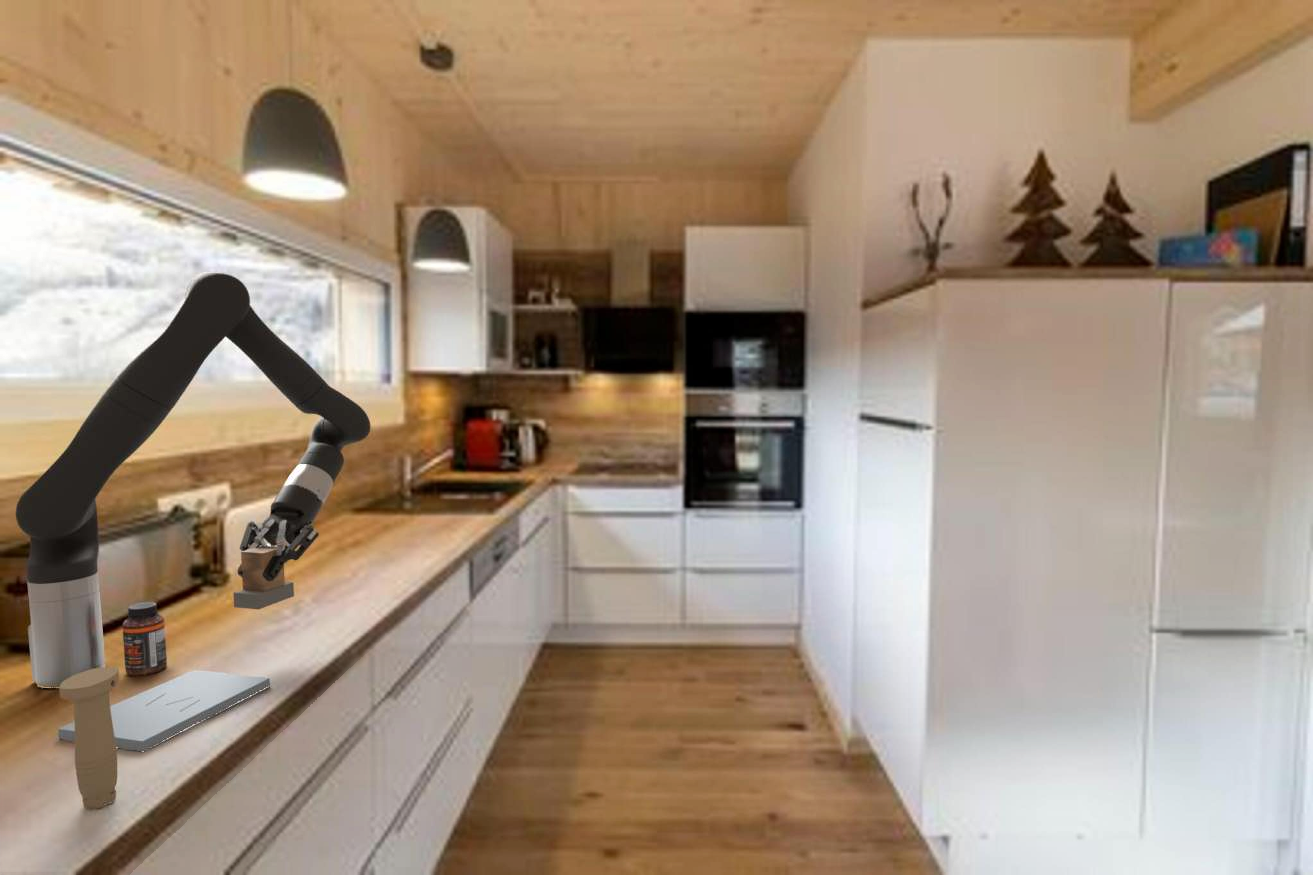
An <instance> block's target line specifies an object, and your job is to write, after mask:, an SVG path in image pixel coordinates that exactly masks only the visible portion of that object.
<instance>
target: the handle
mask: <svg viewBox="0 0 1313 875" xmlns="http://www.w3.org/2000/svg"><path fill="white" fill-rule="evenodd" d="M119 680H120V672H119V667H115V666H109V667H108V666H107V667H106V666H105V667H103V668H95V669H90V670H87V671H84V672H81V673H78V674H76V675H73V676H71V677H69V678H68V679H66V680H64V681H63V682H62V683H61V684H60V687H59V688H58V690H59V697H60V698H61V699H63V700H65V701H71V702H72V703H73V710H74V713H73V715H74V722H75V742H74V764H75V774H76V780H77V786H78V789H79V793H80V795H81V797H82V804H83V807H84V810H87V811H90V810H95V809H94V808H96V810H98V809H97V808H100V809H102V808H103V807H105V806H106V805H105V804H107V805H109V804H108V803H110V802H113V801H116V797H117V790H116V786H117V784H118V783H117V782H118V753H117V752H118V751H117V748H116V742H115V736H114V730H113V723H112V716H111V709H110V706H111V704H110V693H111V692H112V691H113V690H115V688H116V687H117V686H118V683H119ZM113 803H114V802H113ZM110 804H111V803H110ZM104 805H105V806H104ZM102 806H103V807H102ZM101 807H102V808H101Z"/></svg>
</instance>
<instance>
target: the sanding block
mask: <svg viewBox="0 0 1313 875" xmlns="http://www.w3.org/2000/svg"><path fill="white" fill-rule="evenodd" d="M276 548H277V546H274V547H269V546H259V547H257V548H253V549H249V550H245V551H240V556H241V557H240V558H241V563H242V577H241V578H242V579H241V580H242V589H240V590H236V591H234V592H233V607H234V608H239V609H240V608H241V609H249V610H262V609H264V608H266V607H270V606H272V605H274V604H277V603H280V602H282V601H285V600H288V599H290V598H293V597H295V589H294V587H295V586H294V585H295V584H294V582H293V581H285V578H286V577H285V564H284V565H283V567H282V569H281V570H280V572H279V574H278V576H277V577H276V578H274V580H273V581H268V580H266V579H265V578H264V577H263V576H262V574H263V572H264V570H265V569H266V567H267V565H268V563H269V562H270V560H271V558H272V557H273V556H276V555H275V552H276Z"/></svg>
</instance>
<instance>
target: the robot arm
mask: <svg viewBox="0 0 1313 875" xmlns="http://www.w3.org/2000/svg"><path fill="white" fill-rule="evenodd" d="M250 298H251V297H250V294H249V290H248V288H247V287H246V285H245V283H244V282H242V280H240V279H239V278H237V277H235V276H234V275H232V274H229V273H225V272H221V271H204V272H201V273H198V274H196V275H195V276H193V277H191V278H190V280H189V281H188V282H187V284H186V287H185V291H184V299H185V300H184V302H183V303H182V305H181V306H180V308H179V310H178V311H177V313H176V314H175V315H174V318H172V320H171V321H170V323H169V324H168V326H167V327H166V329H164V331H163V332H162V333H161V334H160V335H159V336H158V337H157V338H156V339H155V340H154V341H152V343H150V345H148V346H147V347H146V348H145V349H143V351H141V352H140V353H139V354H138V355H136V357H135V358H133V360H131V361H130V362H129V364H127V365H126V367H125V368H123V369H122V371H121V372H120V373H119V374H118V375H117V377H115V379H114V380H113V382H112V383H111V384H110V386H109V387H108V388H107V389H106V390H105V392H103V394H102V395H101V397H100V398H99V399H98V401H97V403H96V404H95V406H94V407H93V408H92V410H91V411H90V413H89V414H88V415H87V417H86V418H85V420H84V421H83V423H82V425H81V426H80V428H79V429H78V431H77V432H76V434H75V436H74V437H73V439H72V440H71V441H70V443H69V445H68V446H67V447H66V448H65V450H64V451H63V452H62V453H61V455H60V456H59V457H58V458H57V459H56V460H55V461H54V462H53V463H52V464H51V465H50V467H48V468H47V469H46V471H45V472H43V474H42V475H41V476H40V477H39V478H38V479H37V480H35V482H34V483H33V484H32V485H31V486H30V487H29V488H28V489H26V490H25V491H24V492H23V493H22V495H21V496H20V497H19V499H18V501H17V504H16V507H15V518H16V519H15V520H16V523H17V525H18V527H19V528H20V529H21V531H22V532H23V533H25V534H26V535H28V536H29V541H30V542H29V543H30V547H29V548H30V549H29V557H28V560H27V563H26V566H25V568H26V581H27V583H26V584H27V591H28V592H27V593H28V601H29V602H28V603H29V604H28V605H29V615H30V624H29V625H28V627H27V633H28V643H29V654H30V665H31V666H30V667H31V678H32V681H33V680H35V681H36V683H35V684H37V685H39V686H43V687H51V688H52V687H53V688H54V687H60V684H61V683H62V682H63V681H64V680H66V679H68V678H69V677H71V676H73V675H76V674H78V673H81V672H84V671H87V670H90V669H95V668H103V667H106V657H105V645H104V644H105V643H104V642H105V641H104V632H103V629H104V628H103V621H102V620H103V618H102V605H101V604H102V603H101V593H100V583H99V582H100V581H99V571H98V570H99V569H98V568H99V567H98V558H99V553H100V552H99V551H100V550H99V549H100V543H99V542H100V541H99V540H100V539H99V523H98V508H97V500H96V498H97V497H98V495H99V493H100V492H101V491H102V489H103V487H104V486H105V485H106V484H107V482H108V480H109V479H110V478H111V476H112V475H113V473H114V472H115V471H116V470H117V469H118V468H119V467H120V466H121V465H123V463H125V461H126V460H128V458H130V457H131V456H132V455H133V454H134V453H135V452H136V451H137V450H138V449H139V448H140V447H141V446H142V445H144V443H145V442H146V441H147V440H148V439H149V438H150V437H151V436H152V435H153V434H154V432H156V431H157V429H158V428H159V427H160V426H161V425H162V423H163V421H164V420H165V419H166V418H167V416H168V415H169V414H170V413H171V411H172V410H173V408H174V407H175V406H176V404H177V403H178V402H179V400H180V399H181V397H182V395H183V394H184V393H185V391H186V390H187V388H188V387H189V385H190V384H191V383H192V381H193V380H194V378H195V376H196V374H197V373H198V372H199V370H200V368H201V366H202V365H203V364H204V362H205V360H206V359H207V358H208V357H209V355H210V354H211V353H212V352H213V351H214V350H215V348H216V347H217V346H218V345H219V344H220V343H221V342H222V341H223V340H224V339H225V338H227V339H228V340H229V341H230V342H232V343H233V344H234V345H235V346H236V347H237V348H238V349H240V351H242V352H243V353H244V354H245V355H246V357H247V358H249V359H250V361H252V362H253V364H255V366H256V367H257V368H258V369H259V370H260V372H262V373H263V374H264V375H265V376H266V378H268V380H269V381H270V382H271V383H272V384H273V385H274V386H275V388H277V390H279V391H280V392H281V393H282V395H284V396H285V397H286V399H288V401H290V402H291V403H292V405H293V406H295V407H296V408H297V409H298V410H299V411H300V412H301V413H303V414H308V415H317V416H320V418H319V419H318V420H317V421H316V423H315V425H314V426H313V429H312V431H311V435H310V437H309V440H308V445H307V449H306V451H305V453H304V454H302V457H301V459H300V460H299V461H298V464H297V465H296V467H295V468H294V469H293V471H292V472H291V473H290V474H289V476H288V477H287V479H286V480H285V482H284V483H283V485H282V487H281V488H280V490H279V491H278V492H277V495H276V497H275V498H274V500H273V502H272V503H271V505H270V514H269V515H268V517H267V518H265V519H264V520H263V521H262V522H260V523H255V522H254V521H249V522H248V523H247V525H246V527H245V529H244V533H243V537H242V540H241V543H240V545H239V550H241V551H240V552H242V551H245V550H249V549H253V548H257V547H260V546H269V547H277V548H276V552H275V555H276V556H273V557H272V558H271V560H270V562H269V563H268V565H267V567H266V569H265V570H264V572H263V574H262V576H263V577H264V578H265V579H266V580H268V581H273V580H274V578H276V577H277V576H278V574H279V572H280V570H281V569H282V567H283V565H284V566H285V564H287V563H288V562H289V561H290V560H293V561H298V560H299V559H300V558H301V557H302V555H304V553H306V551H307V550H308V549H309V547H310V546H312V544H313V543H315V542H314V541H316V539H317V538H318V537H319V536H320V535H319V534H320V533H319V532H318V531H317V530H316V528H315V527H313V525H312V524H314V521H315V519H316V517H318V514H319V512H320V510H321V509H322V508H323V505H324V504H325V502H326V500H327V498H328V496H329V495H330V493H331V491H332V490H331V489H332V487H333V485H334V483H335V481H336V480H337V478H338V476H339V474H340V473H341V470H342V468H343V467H344V464H345V457H344V455H343V452H341V451H342V449H343V448H344V447H345V446H348V445H351V444H354V443H355V444H356V443H358V442H361V441H364V439H366V438H367V437H368V436H369V434H370V432H371V422H370V418H369V416H368V415H367V412H365V410H364V409H363V408H362V407H361V406H360V405H359V404H358V403H357V402H355V401H354V400H352V399H351V398H349V397H347V396H346V395H344V394H343V393H341V392H340V391H338V390H337V389H334V388H333V387H331V386H330V385H329V384H328V383H327V382H326V381H325V380H324V379H323V377H321V375H320V374H319V373H318V372H317V371H316V370H315V369H314V368H313V367H312V366H311V365H310V364H309V363H308V362H307V361H306V360H305V359H304V358H303V357H302V356H301V355H300V354H298V353H297V352H296V351H295V350H294V349H293V348H292V347H290V346H289V345H288V344H286V343H285V342H284V341H283V340H282V339H281V338H279V336H278V335H276V334H275V333H274V332H273V330H272V329H270V328H269V326H268V325H267V324H266V323H265V322H264V321H263V320H262V319H261V318H260V317H259V316H258V314H257V312H256V311H255V309H254V308H253V307H252V306H251V299H250ZM264 540H265V541H264ZM266 542H267V543H266ZM298 547H299V548H298ZM297 548H298V549H297ZM237 575H238V576H239V577H240V578H242V562H241V563H240V565H239V566H238V569H237Z"/></svg>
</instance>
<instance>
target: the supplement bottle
mask: <svg viewBox="0 0 1313 875" xmlns="http://www.w3.org/2000/svg"><path fill="white" fill-rule="evenodd" d="M127 609H128V610H127V611H128V617H127V618H126V619H125V620H124V621H123V623H122V642H123V655H124V667H125V673H126V675H130V676H133V677H135V676H136V677H138V676H140V677H141V676H148V675H151V674H155V673H158V672H160V671H162V670H164V668H166V667H167V664H168V660H167V659H168V658H167V641H166V627H165V618H164V616H163V615H162V614H160V613H158V607H157V602H153V601H149V602H148V601H145V602H139V603H135V604H132V605H130V606H128V608H127Z"/></svg>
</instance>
